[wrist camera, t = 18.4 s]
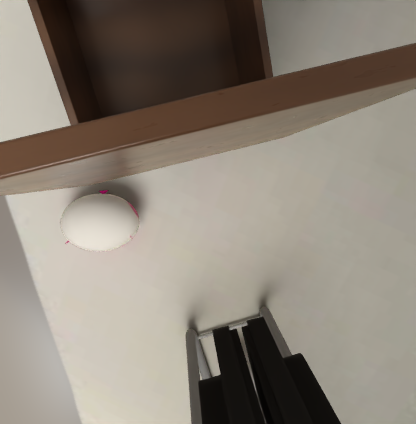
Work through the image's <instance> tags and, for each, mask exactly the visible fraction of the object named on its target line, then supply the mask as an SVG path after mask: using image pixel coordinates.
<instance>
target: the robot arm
mask: <svg viewBox="0 0 416 424" xmlns="http://www.w3.org/2000/svg"><path fill="white" fill-rule="evenodd" d="M212 331H213V337H214V342H215V347H216V352H217V357H218V363H219V368H220V373H221V375H219V376H215V377H211V378H208V379H204V380H200V381H198V387H199V397H200V407H201V417H202V424H341V423H340V421H339V419H338V417H337V416H336V414H335V412H334V410H333V408H332V407H331V405H330V403H329V401H328V399H327V398H326V396H325V394H324V392H323V391H322V389H321V387H320V385H319V383H318V382H317V380H316V378H315V376H314V374H313V373H312V371H311V369H310V367H309V365H308V364H307V362H306V360H305V358H304V357H303V355H302V354H301V353H298V354H295V355H291V356H288V357H284V358H283V357H282V355H281V353H280V351H279V349H278V347H277V345H276V342H275V340H274V338H273V336H272V334H271V332H270V330H269V327H268V325H267V323H266V321H265V319H264V317H263V316H262V317H259V318H255V319H251V320H247V326H244V327H242V332H243V336H244V340H245V345H246V349H247V353H248V357H249V362H250V366H251V370H252V374H253V379H254V383H255V387H256V390H255V387H254V384H253V381H252V377H251V374H250V371H249V368H248V364H247V361H246V358H245V355H244V351H243V348H242V345H241V342H240V339H239V335H238V332H237V329H233V330H230V329H229V326H225V327H221V328H218V329H214V330H212ZM256 391H257V393H256ZM257 395H258V397H257ZM258 399H259V400H258ZM259 402H260V403H259ZM261 409H262V410H261ZM262 412H263V413H262ZM263 415H264V416H263ZM265 422H266V423H265Z"/></svg>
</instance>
